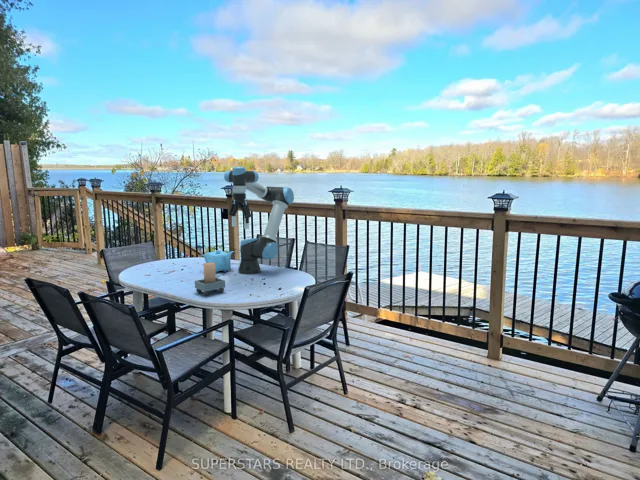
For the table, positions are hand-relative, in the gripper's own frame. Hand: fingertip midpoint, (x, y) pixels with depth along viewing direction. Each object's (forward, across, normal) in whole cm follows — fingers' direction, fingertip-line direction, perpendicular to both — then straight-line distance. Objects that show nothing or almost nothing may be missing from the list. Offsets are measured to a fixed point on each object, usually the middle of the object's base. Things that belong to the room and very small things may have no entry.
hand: (240, 227), depth 243 cm
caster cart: (+35, +6, -26) cm, 44 cm away
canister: (+30, +6, -26) cm, 40 cm away
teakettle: (+35, -35, +5) cm, 50 cm away
